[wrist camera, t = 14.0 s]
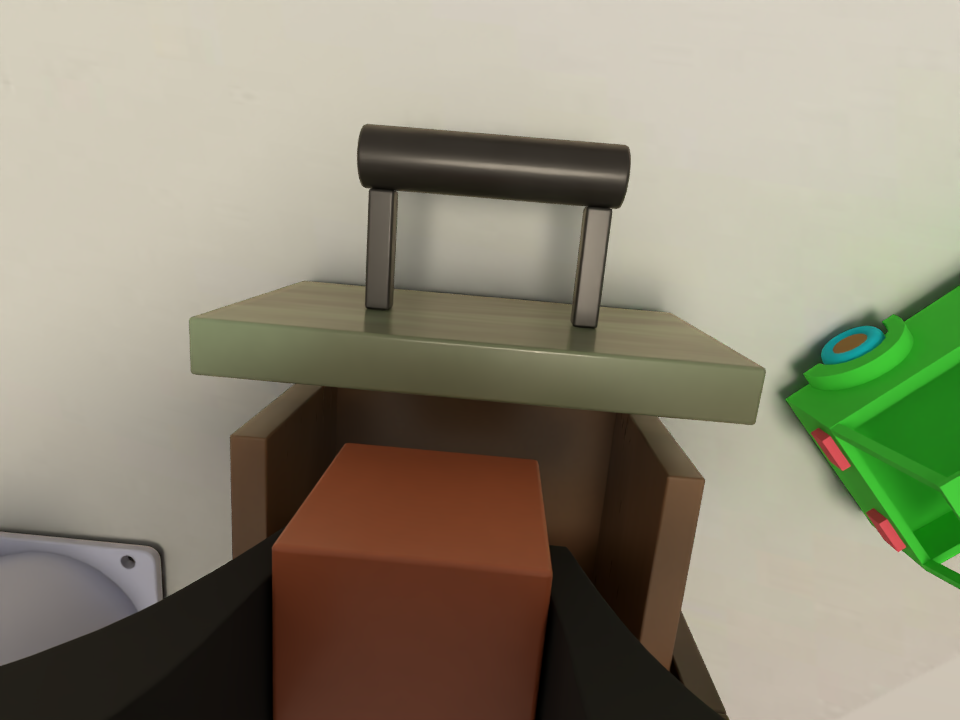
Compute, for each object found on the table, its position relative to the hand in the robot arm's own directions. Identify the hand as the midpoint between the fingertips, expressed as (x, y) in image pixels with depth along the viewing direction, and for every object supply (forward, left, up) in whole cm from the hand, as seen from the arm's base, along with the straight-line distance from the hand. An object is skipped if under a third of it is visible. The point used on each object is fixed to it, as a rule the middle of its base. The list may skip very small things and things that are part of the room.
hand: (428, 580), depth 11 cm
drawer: (0, +1, -8) cm, 8 cm away
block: (0, 0, -1) cm, 1 cm away
